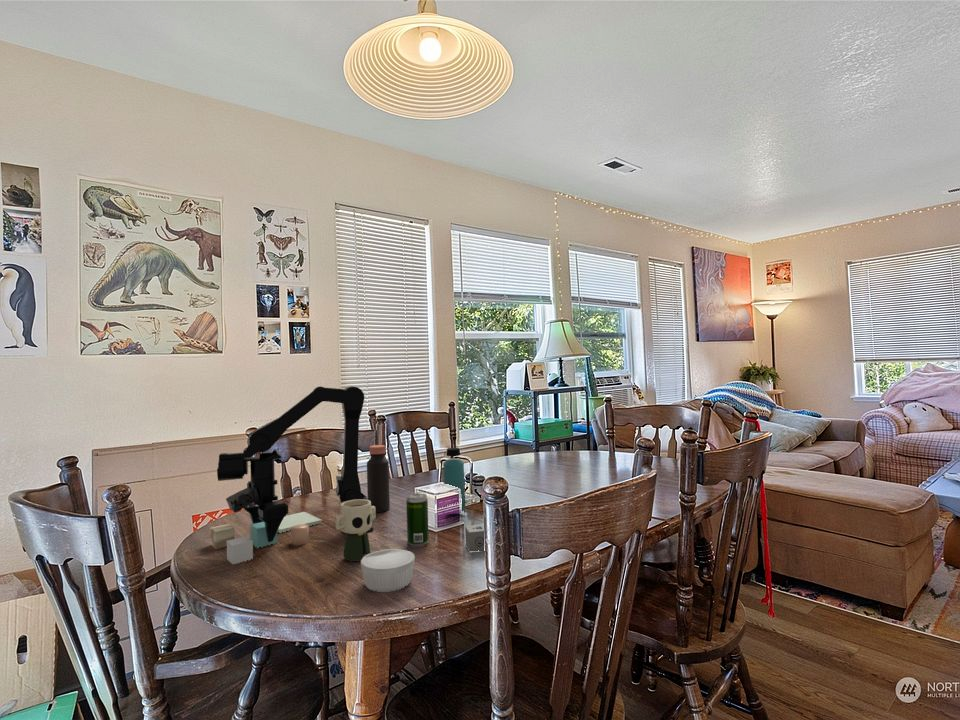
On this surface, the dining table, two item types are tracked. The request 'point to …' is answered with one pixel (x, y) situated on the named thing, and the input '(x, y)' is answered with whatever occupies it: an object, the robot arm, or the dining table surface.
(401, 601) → the dining table surface
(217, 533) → the birch block
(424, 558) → the dining table surface
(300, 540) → the terracotta cylinder
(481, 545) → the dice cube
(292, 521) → the sage pad
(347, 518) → the character mug
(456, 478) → the beverage bottle
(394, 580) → the ramekin
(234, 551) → the grey plastic block
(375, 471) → the dark water bottle
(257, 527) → the teal block
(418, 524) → the beer can
